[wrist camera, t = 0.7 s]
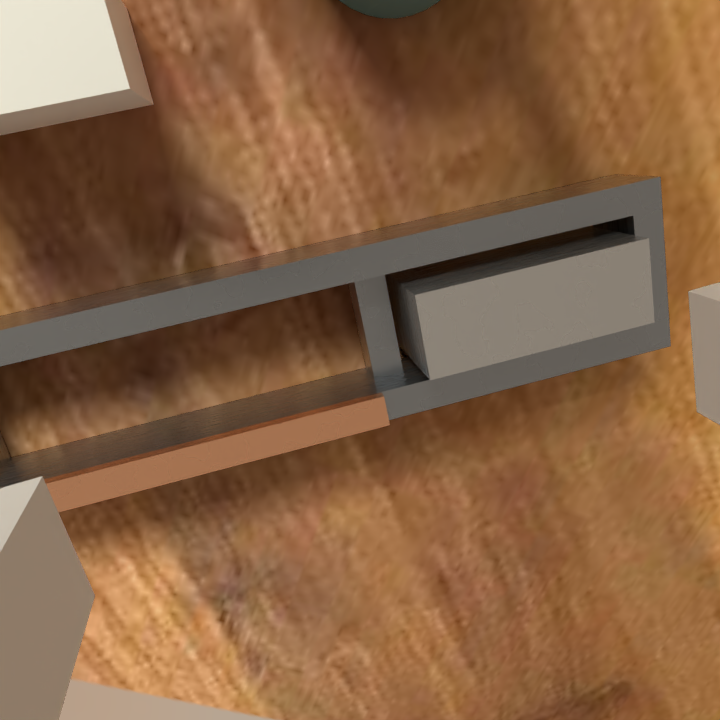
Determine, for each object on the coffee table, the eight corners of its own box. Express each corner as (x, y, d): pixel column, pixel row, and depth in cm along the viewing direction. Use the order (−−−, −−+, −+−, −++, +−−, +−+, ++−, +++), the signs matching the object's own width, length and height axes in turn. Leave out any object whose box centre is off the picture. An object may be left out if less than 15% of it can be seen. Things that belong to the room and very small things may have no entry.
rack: (-76, 333, 32) (-140, 371, 27) (615, 174, 36) (687, 178, 31) (-9, 491, 35) (-55, 556, 29) (627, 327, 39) (695, 357, 33)
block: (-87, 48, 29) (-197, 11, 22) (127, 8, 30) (92, -40, 23) (-50, 145, 30) (-142, 142, 23) (153, 104, 31) (130, 88, 24)
